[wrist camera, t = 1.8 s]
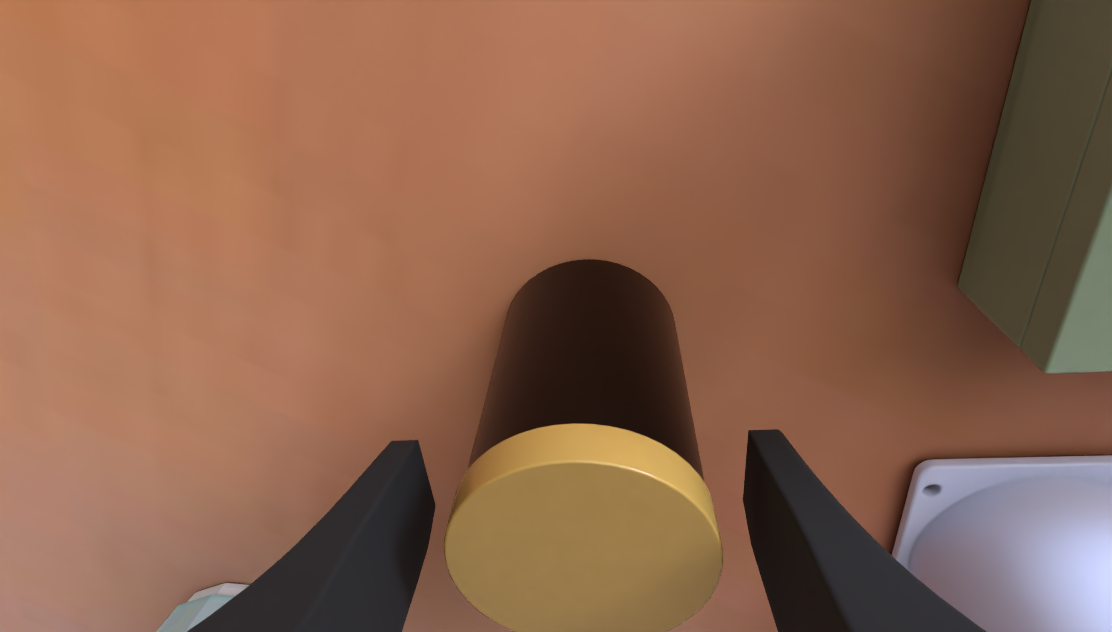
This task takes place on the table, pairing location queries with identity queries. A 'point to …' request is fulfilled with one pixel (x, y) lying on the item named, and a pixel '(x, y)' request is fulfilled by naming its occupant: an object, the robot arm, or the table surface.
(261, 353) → the table surface
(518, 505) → the canister
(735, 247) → the table surface
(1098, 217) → the shelf
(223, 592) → the disposable coffee cup
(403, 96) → the table surface
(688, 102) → the table surface
